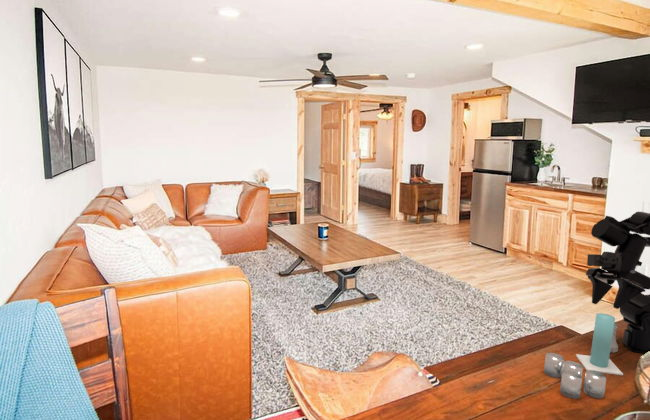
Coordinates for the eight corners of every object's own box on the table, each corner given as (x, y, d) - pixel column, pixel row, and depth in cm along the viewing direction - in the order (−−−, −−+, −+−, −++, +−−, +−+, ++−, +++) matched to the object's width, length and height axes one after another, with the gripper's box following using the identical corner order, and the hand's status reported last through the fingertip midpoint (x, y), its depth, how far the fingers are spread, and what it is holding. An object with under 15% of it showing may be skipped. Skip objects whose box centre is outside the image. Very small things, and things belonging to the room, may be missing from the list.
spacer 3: (599, 389, 95) (601, 371, 94) (607, 399, 91) (609, 381, 91) (580, 386, 96) (582, 369, 95) (587, 396, 92) (589, 378, 92)
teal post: (604, 360, 107) (611, 314, 105) (610, 368, 104) (618, 320, 101) (587, 358, 108) (593, 312, 106) (593, 366, 105) (600, 318, 102)
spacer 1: (559, 370, 103) (560, 353, 102) (564, 378, 99) (566, 361, 99) (541, 368, 104) (543, 351, 103) (546, 376, 100) (548, 359, 100)
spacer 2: (577, 379, 99) (579, 361, 99) (583, 388, 96) (585, 370, 95) (559, 376, 100) (561, 359, 100) (564, 385, 96) (566, 368, 96)
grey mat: (608, 359, 109) (608, 358, 109) (622, 375, 101) (623, 373, 101) (575, 355, 111) (575, 354, 111) (587, 370, 103) (587, 369, 103)
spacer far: (576, 389, 95) (578, 372, 94) (583, 400, 91) (585, 381, 90) (557, 387, 96) (559, 369, 95) (563, 397, 92) (565, 379, 91)
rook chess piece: (612, 346, 117) (615, 319, 115) (621, 353, 112) (625, 326, 111) (595, 345, 117) (599, 318, 116) (604, 352, 113) (608, 325, 111)
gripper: (580, 241, 121) (558, 288, 120) (622, 239, 102) (597, 295, 101) (615, 259, 120) (594, 306, 119) (665, 260, 101) (639, 316, 100)
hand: (604, 305), depth 110 cm, fingers open, 9 cm apart
